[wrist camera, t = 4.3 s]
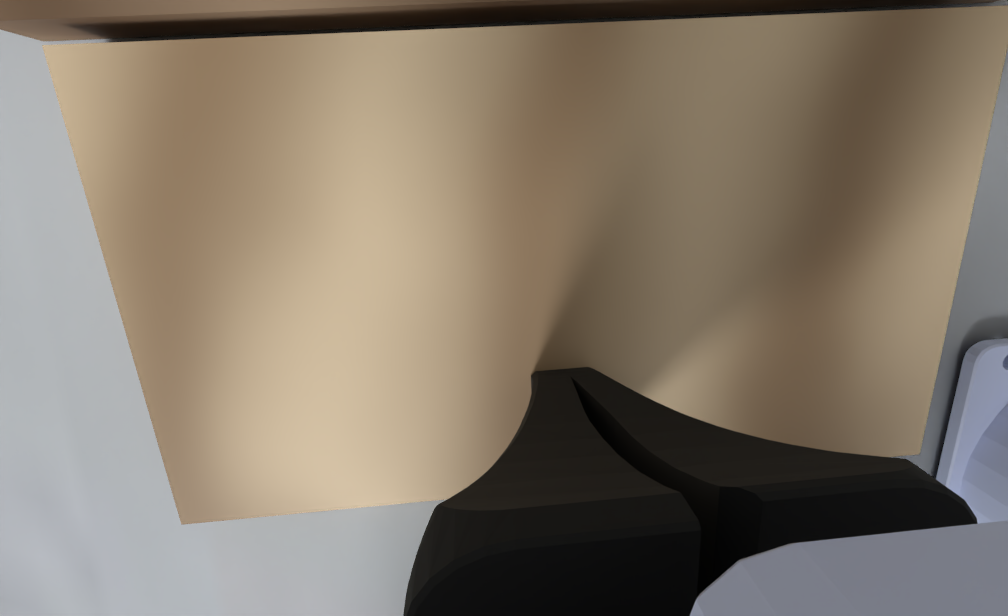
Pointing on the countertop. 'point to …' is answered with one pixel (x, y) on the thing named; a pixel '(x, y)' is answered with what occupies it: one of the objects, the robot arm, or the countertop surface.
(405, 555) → the countertop surface
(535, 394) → the robot arm
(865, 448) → the oak plank
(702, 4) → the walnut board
